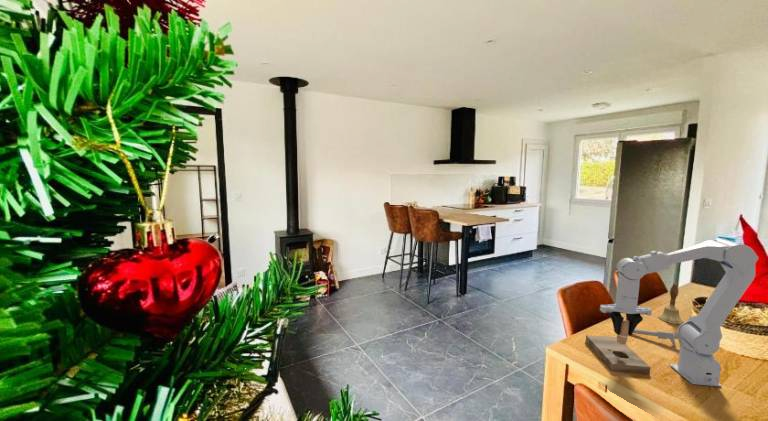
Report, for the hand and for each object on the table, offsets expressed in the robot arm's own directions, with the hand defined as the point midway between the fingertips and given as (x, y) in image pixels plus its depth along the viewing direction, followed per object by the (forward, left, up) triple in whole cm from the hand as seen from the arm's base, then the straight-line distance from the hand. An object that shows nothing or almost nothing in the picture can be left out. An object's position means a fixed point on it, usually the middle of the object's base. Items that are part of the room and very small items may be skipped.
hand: (622, 333), depth 106 cm
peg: (0, 0, -3) cm, 3 cm away
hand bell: (+36, -39, -10) cm, 54 cm away
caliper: (+18, -19, -11) cm, 28 cm away
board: (+3, 0, -10) cm, 11 cm away
